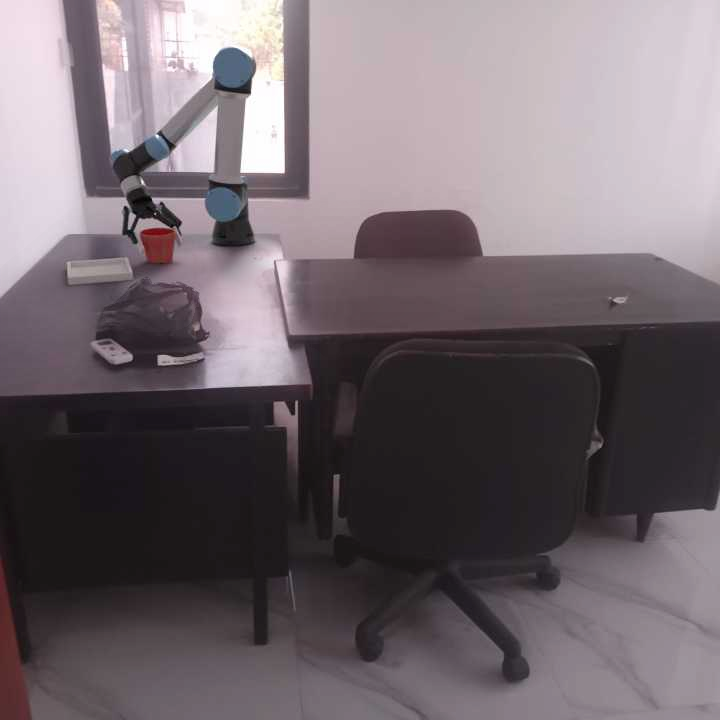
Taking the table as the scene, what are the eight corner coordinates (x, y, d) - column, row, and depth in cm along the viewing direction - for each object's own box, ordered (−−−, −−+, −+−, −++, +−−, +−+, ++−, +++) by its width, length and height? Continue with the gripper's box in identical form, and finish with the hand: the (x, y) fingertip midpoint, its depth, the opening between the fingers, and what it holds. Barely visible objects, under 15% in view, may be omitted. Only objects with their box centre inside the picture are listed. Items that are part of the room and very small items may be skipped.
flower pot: (172, 265, 235) (170, 235, 232) (138, 265, 235) (135, 234, 232) (181, 257, 245) (178, 228, 241) (147, 256, 245) (145, 227, 241)
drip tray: (128, 264, 236) (127, 257, 235) (133, 279, 221) (132, 272, 220) (67, 268, 230) (66, 261, 229) (68, 285, 215) (67, 277, 214)
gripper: (168, 196, 252) (193, 249, 247) (97, 204, 237) (122, 260, 232) (174, 182, 246) (200, 236, 241) (102, 190, 231) (128, 247, 226)
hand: (162, 248), depth 237 cm, fingers open, 13 cm apart
